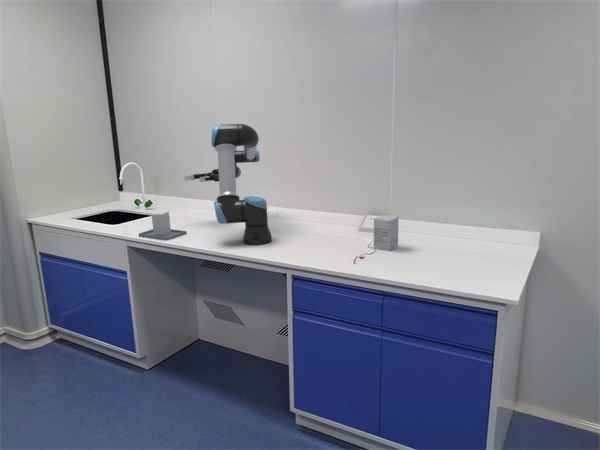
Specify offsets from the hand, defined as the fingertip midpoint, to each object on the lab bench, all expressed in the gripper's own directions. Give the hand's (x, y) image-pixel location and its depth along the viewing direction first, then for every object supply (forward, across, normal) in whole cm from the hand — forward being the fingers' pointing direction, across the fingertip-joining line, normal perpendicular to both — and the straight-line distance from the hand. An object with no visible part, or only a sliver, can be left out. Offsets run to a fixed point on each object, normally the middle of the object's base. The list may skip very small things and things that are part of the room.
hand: (192, 179), depth 245 cm
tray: (+19, +7, -30) cm, 36 cm away
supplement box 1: (+19, +7, -30) cm, 36 cm away
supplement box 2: (-24, -110, -30) cm, 117 cm away
